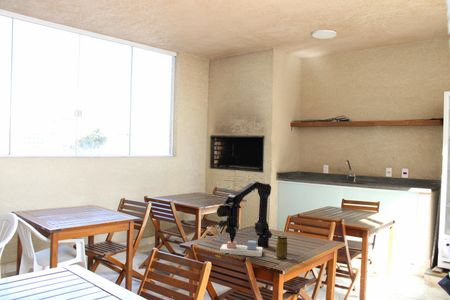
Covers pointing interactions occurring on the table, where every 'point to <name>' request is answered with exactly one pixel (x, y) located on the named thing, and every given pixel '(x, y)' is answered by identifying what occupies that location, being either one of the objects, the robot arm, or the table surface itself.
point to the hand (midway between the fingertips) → (231, 242)
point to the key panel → (242, 250)
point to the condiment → (282, 248)
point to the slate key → (251, 244)
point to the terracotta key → (231, 244)
